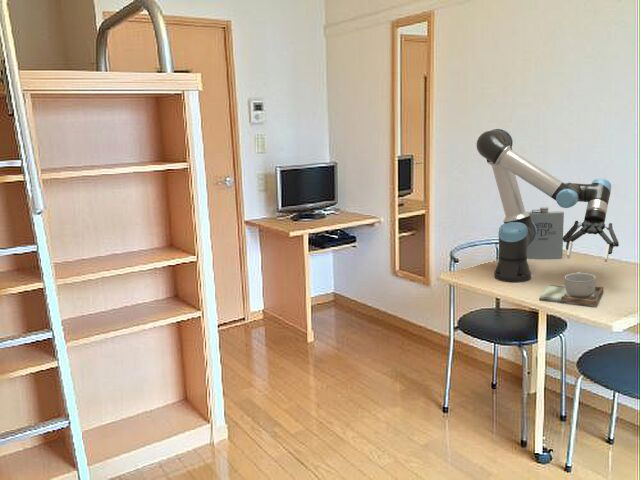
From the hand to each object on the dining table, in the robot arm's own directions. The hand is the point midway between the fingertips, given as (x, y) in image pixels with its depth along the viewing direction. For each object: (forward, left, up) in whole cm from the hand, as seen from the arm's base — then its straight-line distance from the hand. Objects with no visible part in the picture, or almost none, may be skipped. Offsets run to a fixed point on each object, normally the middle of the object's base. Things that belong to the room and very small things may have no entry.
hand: (586, 258), depth 223 cm
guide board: (-4, -9, -13) cm, 16 cm away
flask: (-26, +43, -14) cm, 52 cm away
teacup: (-1, -9, -12) cm, 15 cm away
